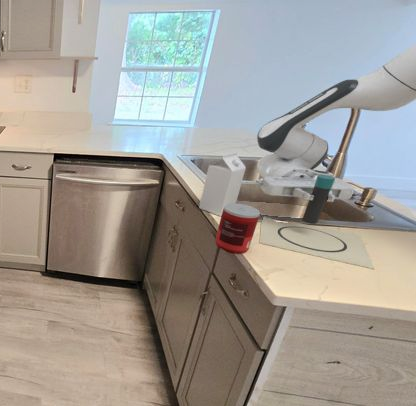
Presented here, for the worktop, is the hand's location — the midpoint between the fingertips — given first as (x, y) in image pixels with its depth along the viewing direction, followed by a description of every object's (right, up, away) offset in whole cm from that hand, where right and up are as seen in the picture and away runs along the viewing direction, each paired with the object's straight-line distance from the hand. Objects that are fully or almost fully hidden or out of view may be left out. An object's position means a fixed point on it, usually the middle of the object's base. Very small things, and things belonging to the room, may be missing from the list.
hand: (320, 198), depth 96 cm
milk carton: (-13, -4, +22) cm, 26 cm away
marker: (0, -6, +4) cm, 7 cm away
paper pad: (0, -11, +3) cm, 12 cm away
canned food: (-23, -13, +1) cm, 26 cm away
